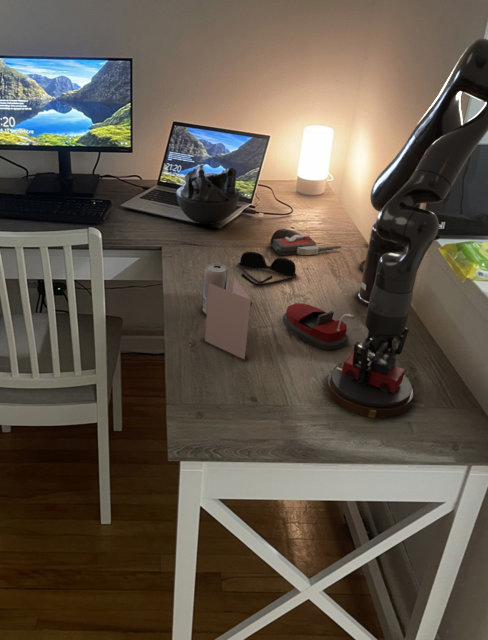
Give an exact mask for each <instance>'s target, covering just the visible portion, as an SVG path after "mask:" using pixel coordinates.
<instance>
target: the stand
mask: <svg viewBox="0 0 488 640" xmlns="http://www.w3.org/2000/svg"><path fill="white" fill-rule="evenodd" d="M331 373H332V370H330V372H329V374H328V376H327V382H326V391H327V394H328V396H329V397H330V399H331V400H332V401H333V402H334V403H335V404H337V405H338V406H339V407H341V408H343V409H344V410H346V411H349V412H351V413H353V414H356V415H358V416H363V417H368V418H371V419H376V418H377V419H378V418H379V419H386V418H393V417H398V416H399V415H402V414H403V413H406V412H407V410H409V408H410V407H411V405H412V401H413V398H414V389H413V388H412V391H411V395H410V397H409V398H408V399H407V400H406V401H405V402H403V403H401V404H398V405H395V406H389V407H376V406H369V405H364V404H360V403H357V402H355V401H352V400H350V399H348V398H346V397H345V396H343V395H342V394H340V393H339V392H338V391H337V390H336V389H335V388H334V386H333V385H332V382H331Z"/></svg>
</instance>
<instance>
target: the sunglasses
mask: <svg viewBox="0 0 488 640" xmlns="http://www.w3.org/2000/svg"><path fill="white" fill-rule="evenodd" d="M237 267H238V268H239V269H240V270H241V271H242V272H243V273H241V278H243V279H244V280H245V281H247V282H248V283H250V284H251V285H253V286H258V287H262V286H269V285H273V284H278V283H282V282H286V281H290V280H293V279H296V278H297V277H298V274H296V271H297V270H296V263H295V262H294V261H293V260H292V259H288V258H285V257H276V258H275V259H274V260H273V261H272V262H271V264H270V265H267V262H266V259H265V256H263V254H261V253H260V252H256V251H244V252H243V253H242V254H241V256H240V260H239V262H238V263H237ZM244 268H248V269H259V270H263V269H264V270H269V271H272V272H275V273H277V274H279V275H281V276H286V278H285V277H284V278H282V279H277V280H273V281H271V280H272V279H273V275H272V274H271V275H270V276H268V277H266V278H265V279H263V280H258V279H257V278H255V277H253V276H252V275H251V274H249V273H248V272H247V270H245V269H244Z"/></svg>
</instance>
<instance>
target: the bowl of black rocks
mask: <svg viewBox="0 0 488 640" xmlns="http://www.w3.org/2000/svg"><path fill="white" fill-rule="evenodd" d="M204 166H205V164H200V165H199V166H196V167H194V168H193V169H192V170H191V171H188V172H187V173H186V174H185V175H184V177H183V178H184V181H185V182H184V183H183V185H182V186H180V187H179V188H177V190H176V200H177V203H178V207H179V208H180V209H181V211H182V213H183V214H184V215H185V216H186V217H187V218H188V219H190V220H191V221H192V222H195V223H197V222H199V223H198V224H201V223H205V224H204V225H213V224H212V223H215V224H218V223H221V222H223V221H225V220H226V219H227V218H228V217H230V216H231V215H232V213H233V212H234V211H235V209H236V208H237V205H238V204H239V200H240V192H239V191H238V190H237V188H236V183H237V182H236V181H237V170H236V169H235V168H234V167H228V168H226V169H225V170H223V169H222V171H220V172H219V173H214V172H205V169H204ZM201 225H202V224H201Z"/></svg>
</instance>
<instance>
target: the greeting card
mask: <svg viewBox="0 0 488 640" xmlns="http://www.w3.org/2000/svg"><path fill="white" fill-rule="evenodd" d="M232 285H233V286H232V291H231V290H227V289H226V290H225V289H223V288H220V287H218V286H215V285H213V284H210V283H209V288H208V303H207V314H206V317H205V318H206V320H205V335H204V341H205V342H206V343H209V344H210V345H212V346H215V347H217V348H219V349H221V350H223V351H225V352H228V353H229V354H231V355H234V356H235V357H238V358H241V359H242V360H245V359H246V351H247V342H248V332H249V323H250V322H249V321H250V312H251V307H252V305H253V302H252V299H251V298H250V296H249V295H248V294H247V292H246V291H245V290H244V288H243V286H242V285H241V284H240V282H239V281H238V280H237V278H236V277H235V276H234V277H233V284H232Z"/></svg>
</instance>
